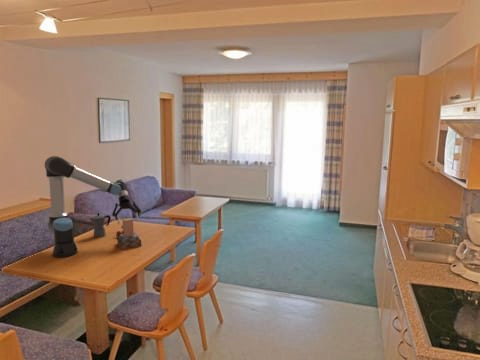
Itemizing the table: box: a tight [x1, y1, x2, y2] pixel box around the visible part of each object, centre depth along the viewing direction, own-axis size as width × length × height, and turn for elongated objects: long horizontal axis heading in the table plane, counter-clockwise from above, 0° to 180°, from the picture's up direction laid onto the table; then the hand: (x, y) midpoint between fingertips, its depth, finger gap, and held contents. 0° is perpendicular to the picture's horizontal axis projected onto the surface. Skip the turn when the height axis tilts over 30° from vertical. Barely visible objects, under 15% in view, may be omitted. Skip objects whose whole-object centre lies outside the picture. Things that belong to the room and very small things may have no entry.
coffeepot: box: [89, 212, 111, 238], centre depth 283 cm, size 15×9×18 cm, turn 112°
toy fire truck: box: [115, 224, 123, 238], centre depth 283 cm, size 3×14×10 cm, turn 143°
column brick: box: [122, 217, 134, 237], centre depth 259 cm, size 6×6×12 cm
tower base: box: [116, 231, 142, 250], centre depth 260 cm, size 14×14×7 cm
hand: (128, 222), depth 260 cm, fingers open, 13 cm apart
